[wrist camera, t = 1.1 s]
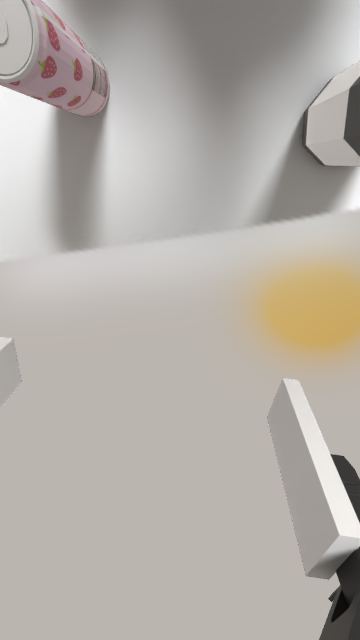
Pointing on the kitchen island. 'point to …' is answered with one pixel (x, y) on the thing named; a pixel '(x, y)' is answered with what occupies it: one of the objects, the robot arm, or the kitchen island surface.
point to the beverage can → (49, 59)
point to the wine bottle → (335, 121)
